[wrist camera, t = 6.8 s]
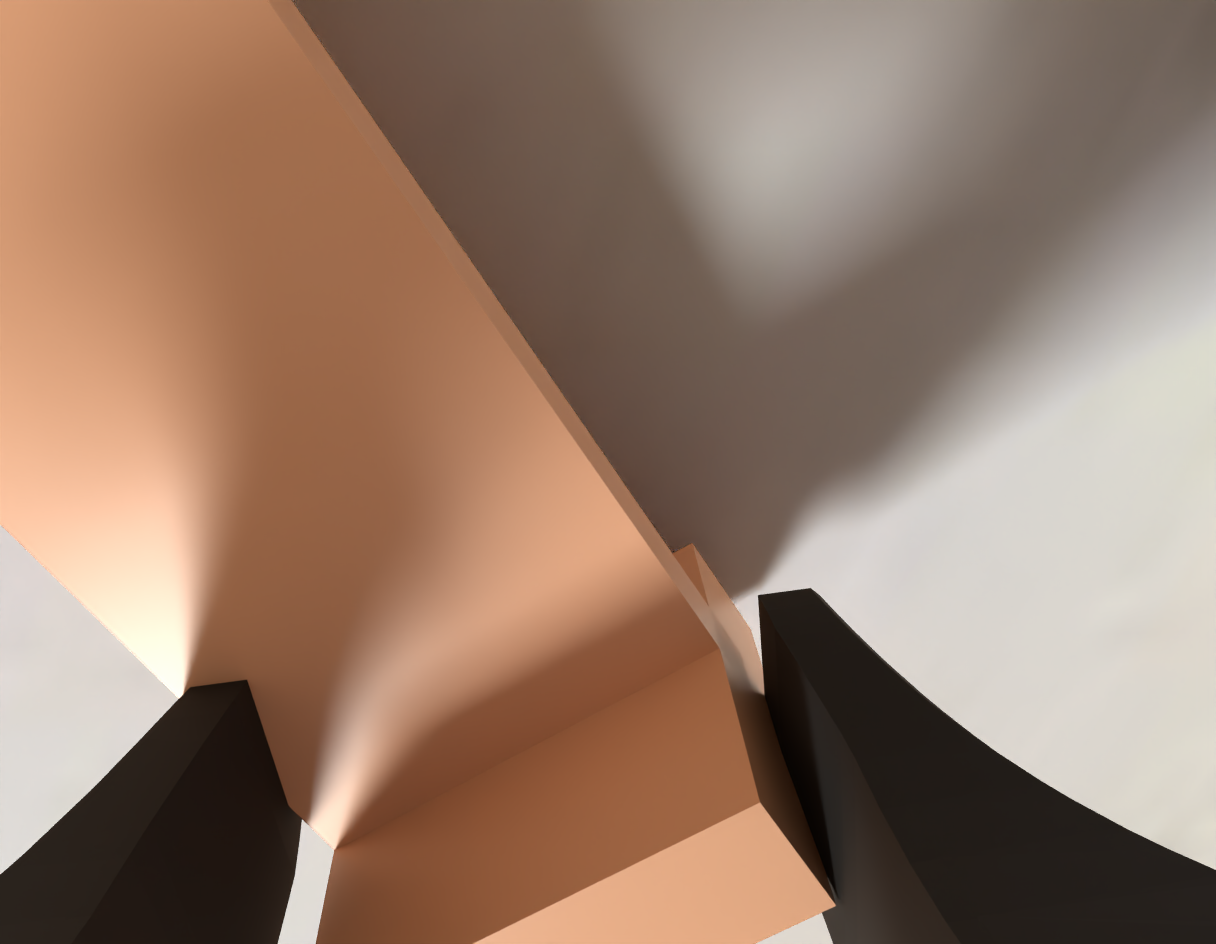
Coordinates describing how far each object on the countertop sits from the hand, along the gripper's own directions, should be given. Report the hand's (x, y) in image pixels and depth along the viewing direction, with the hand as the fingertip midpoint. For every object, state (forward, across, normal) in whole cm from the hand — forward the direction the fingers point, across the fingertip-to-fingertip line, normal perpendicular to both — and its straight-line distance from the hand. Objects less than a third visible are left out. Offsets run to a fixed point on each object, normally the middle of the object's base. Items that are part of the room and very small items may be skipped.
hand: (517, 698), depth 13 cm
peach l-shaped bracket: (+2, +2, -4) cm, 5 cm away
